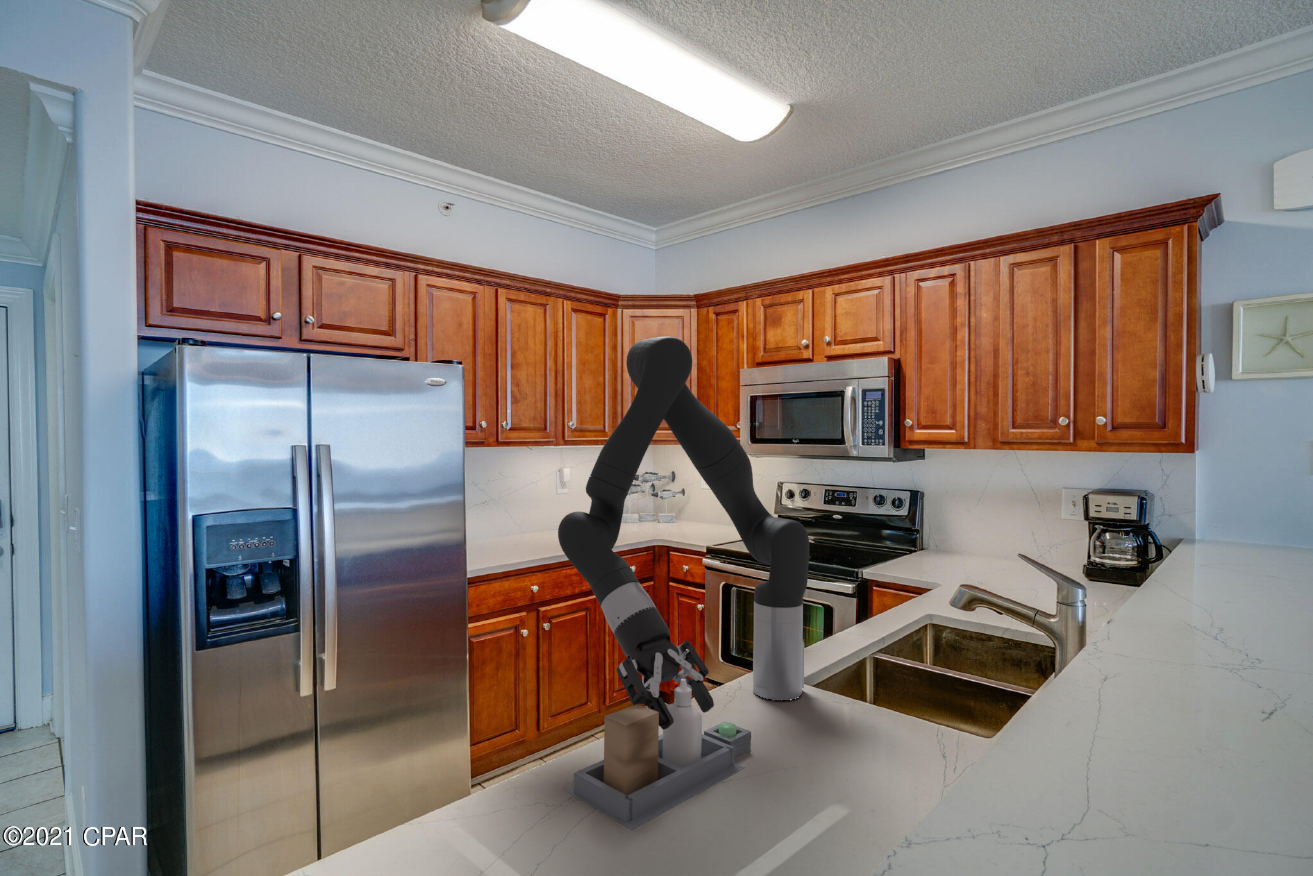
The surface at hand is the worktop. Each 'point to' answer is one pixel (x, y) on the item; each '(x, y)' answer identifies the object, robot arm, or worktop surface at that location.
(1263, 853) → the worktop surface
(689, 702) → the eye dropper bottle
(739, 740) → the button box
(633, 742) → the walnut block
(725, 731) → the button
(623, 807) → the tray
